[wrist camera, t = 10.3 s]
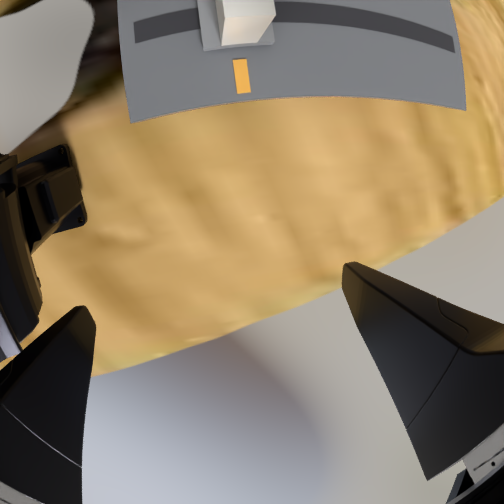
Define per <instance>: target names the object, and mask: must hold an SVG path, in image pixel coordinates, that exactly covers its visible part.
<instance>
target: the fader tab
mask: <svg viewBox="0 0 504 504" xmlns="http://www.w3.org/2000/svg"><path fill="white" fill-rule="evenodd" d="M197 3H198V11H199V19H200V27H201V35H202V43H203V50H204V51H210V50H217V49H225V48H234V47H244V46H257V45H272V44H273V43H274V42H275V39H274V32H273V26H272V20H273V19H274V17H275V16H276V11H275V5H274V0H197Z"/></svg>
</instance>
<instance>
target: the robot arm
mask: <svg viewBox="0 0 504 504" xmlns="http://www.w3.org/2000/svg"><path fill="white" fill-rule="evenodd" d="M61 148H62V149H63V150H64V153H63V154H62V153H61ZM16 164H18V163H17V155H13V156H9V154H5V155H3V154H1V153H0V362H2V361H3V360H5V359H6V358H8V357H11V356H14V355H17V354H18V355H17V356H16V357H15V358H14V359H13V360H11V361H10V362H9V363H8V364H7V365H6V366H5V367H4V368H3V369H1V370H0V504H82V468H81V467H82V449H83V435H84V423H85V414H86V413H85V412H86V405H87V397H88V390H89V384H90V378H91V372H92V365H93V355H94V345H95V336H96V324H95V321H94V320H93V318H92V316H91V314H90V312H89V310H88V309H87V307H86V306H84V305H83V306H76V307H74V308H73V309H71V310H70V311H69V312H68V313H66V314H65V315H64V316H63V317H61V318H60V319H59V320H58V321H57V322H55V323H54V324H53V325H52V326H51V327H49V328H48V329H47V330H46V331H45V332H43V333H42V334H41V335H40V336H39V337H38V338H36V339H35V340H34V341H33V342H32V343H31V344H29V345H28V346H27V347H26V348H25V349H24V350H23V349H22V347H21V345H20V343H21V342H22V341H23V340H24V339H25V338H26V337H27V336H28V335H29V334H30V333H32V331H33V330H34V329H35V327H36V326H37V324H38V323H39V317H38V315H39V312H40V309H41V306H42V303H43V302H42V293H41V290H40V287H41V283H40V280H39V278H38V277H37V275H36V271H35V268H34V264H33V261H32V257H31V255H32V254H33V253H34V251H35V250H36V249H37V248H38V247H39V246H40V245H41V244H42V243H43V242H44V241H45V240H46V239H47V238H48V237H49V236H50V235H51V234H54V233H58V232H62V231H65V230H69V229H73V228H77V227H80V226H83V225H84V224H85V223H86V222H87V215H86V212H85V209H84V206H83V202H82V200H83V197H82V194H81V190H80V187H79V183H78V179H77V175H76V171H75V169H74V168H73V165H72V161H71V157H70V152H69V148H68V146H67V145H66V144H62V145H59V146H56V147H54V148H52V149H49V150H47V151H45V152H43V153H40V154H38V155H36V156H34V157H32V158H30V159H28V160H26V161H24V162H22V163H20V164H18V165H16ZM79 217H81V218H82V219H83V221H80V219H79ZM342 290H343V292H344V295H345V297H346V300H347V302H348V305H349V308H350V310H351V313H352V315H353V318H354V320H355V323H356V325H357V327H358V329H359V332H360V333H361V336H362V337H363V339H364V341H365V343H366V345H367V347H368V349H369V351H370V353H371V355H372V357H373V359H374V361H375V363H376V365H377V367H378V369H379V371H380V373H381V376H382V378H383V379H384V382H385V384H386V386H387V388H388V390H389V392H390V395H391V397H392V399H393V401H394V403H395V405H396V408H397V410H398V412H399V414H400V417H401V419H402V421H403V423H404V426H405V428H406V429H407V430H406V431H407V433H408V435H409V437H410V440H411V442H412V445H413V447H414V449H415V452H416V454H417V457H418V459H419V462H420V464H421V467H422V470H423V472H424V475H425V477H426V479H427V481H428V480H430V479H432V478H434V477H435V476H437V475H439V474H440V473H442V472H444V471H445V470H447V469H448V468H450V467H452V466H453V465H455V464H456V463H458V462H459V461H461V460H463V462H464V464H465V466H466V469H465V470H463V471H462V472H460V473H459V474H457V477H456V480H455V482H454V485H453V488H452V490H451V493H450V495H449V498H448V500H447V502H446V504H504V324H502V323H499V322H497V321H494V320H492V319H489V318H486V317H484V316H481V315H478V314H476V313H473V312H471V311H468V310H465V309H463V308H460V307H458V306H456V305H453V304H451V303H449V302H446V301H444V300H442V299H440V298H437V297H436V296H433V295H431V294H429V293H427V292H425V291H422V290H420V289H418V288H415V287H413V286H411V285H409V284H407V283H404V282H402V281H400V280H397V279H395V278H393V277H391V276H388V275H386V274H384V273H381V272H379V271H377V270H374V269H372V268H370V267H367V266H365V265H363V264H360V263H358V262H349V263H345V264H344V266H343V273H342ZM22 350H23V351H22Z"/></svg>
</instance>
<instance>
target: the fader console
mask: <svg viewBox="0 0 504 504" xmlns="http://www.w3.org/2000/svg"><path fill="white" fill-rule="evenodd" d="M117 3H118V24H119V38H120V49H121V59H122V68H123V76H124V84H125V91H126V98H127V104H128V110H129V116H130V122H131V123H136V122H141V121H145V120H149V119H153V118H157V117H161V116H165V115H170V114H174V113H179V112H184V111H189V110H194V109H200V108H205V107H211V106H218V105H224V104H232V103H239V102H248V101H257V100H268V99H282V98H301V97H356V98H375V99H388V100H398V101H407V102H415V103H422V104H429V105H435V106H441V107H446V108H452V109H458V110H464V111H466V95H465V81H464V71H463V63H462V56H461V49H460V43H459V38H458V33H457V28H456V23H455V19H454V15H453V11H452V7H451V4H450V0H274V5H275V11H276V16H275V17H274V19H273V20H272V26H273V32H274V39H275V42H274V43H273V44H272V45H257V46H244V47H234V48H225V49H217V50H210V51H204V50H203V43H202V35H201V27H200V19H199V11H198V3H197V0H117Z"/></svg>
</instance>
